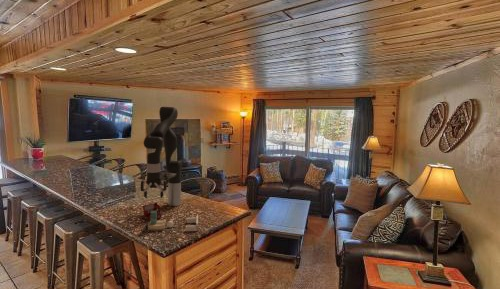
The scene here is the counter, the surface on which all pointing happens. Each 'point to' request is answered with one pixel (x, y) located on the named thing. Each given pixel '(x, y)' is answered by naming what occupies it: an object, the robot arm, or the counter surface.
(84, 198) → the counter surface
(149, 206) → the toy fire truck
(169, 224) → the ball
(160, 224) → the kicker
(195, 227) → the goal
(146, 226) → the track
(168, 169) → the robot arm
